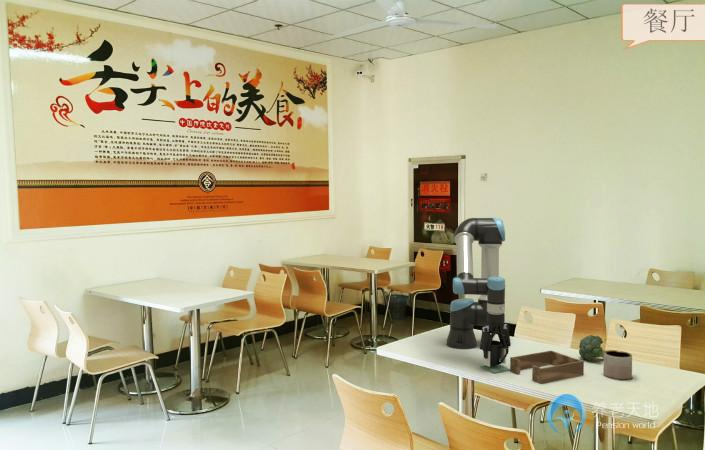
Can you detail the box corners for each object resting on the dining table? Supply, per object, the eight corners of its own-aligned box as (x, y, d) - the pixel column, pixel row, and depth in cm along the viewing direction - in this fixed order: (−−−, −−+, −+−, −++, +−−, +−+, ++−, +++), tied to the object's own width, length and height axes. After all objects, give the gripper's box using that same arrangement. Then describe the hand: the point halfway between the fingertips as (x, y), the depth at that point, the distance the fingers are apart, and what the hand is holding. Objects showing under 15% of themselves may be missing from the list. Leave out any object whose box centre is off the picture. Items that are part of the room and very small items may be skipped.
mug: (501, 370, 233) (501, 348, 233) (478, 363, 243) (479, 342, 242) (513, 366, 238) (513, 344, 238) (490, 359, 248) (490, 339, 247)
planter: (597, 373, 234) (597, 351, 234) (616, 370, 238) (616, 349, 238) (618, 381, 224) (619, 358, 224) (637, 378, 228) (638, 355, 228)
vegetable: (618, 361, 245) (588, 346, 245) (600, 374, 254) (571, 359, 254) (617, 340, 254) (588, 325, 254) (600, 353, 263) (572, 339, 263)
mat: (480, 367, 243) (480, 366, 242) (496, 364, 246) (496, 363, 246) (493, 373, 234) (493, 372, 234) (510, 370, 238) (510, 369, 238)
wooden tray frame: (510, 371, 238) (510, 357, 237) (550, 363, 248) (551, 350, 248) (541, 383, 222) (541, 369, 221) (583, 375, 232) (583, 361, 232)
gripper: (482, 316, 231) (481, 370, 232) (520, 312, 240) (519, 363, 242) (471, 313, 238) (470, 365, 239) (508, 308, 247) (507, 358, 248)
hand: (495, 364), depth 240 cm, fingers closed on mug, 8 cm apart
